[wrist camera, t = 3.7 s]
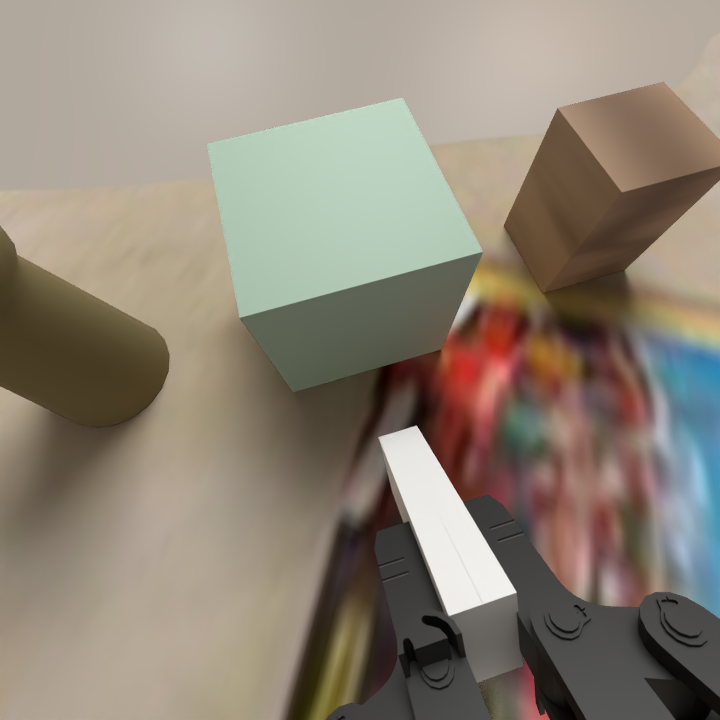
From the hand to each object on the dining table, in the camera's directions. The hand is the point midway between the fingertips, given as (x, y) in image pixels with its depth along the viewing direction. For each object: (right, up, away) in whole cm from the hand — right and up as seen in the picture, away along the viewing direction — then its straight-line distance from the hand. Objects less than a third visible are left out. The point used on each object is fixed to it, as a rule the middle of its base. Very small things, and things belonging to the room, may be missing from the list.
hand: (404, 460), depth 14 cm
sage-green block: (-2, +7, +6) cm, 10 cm away
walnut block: (+10, +10, +7) cm, 16 cm away
